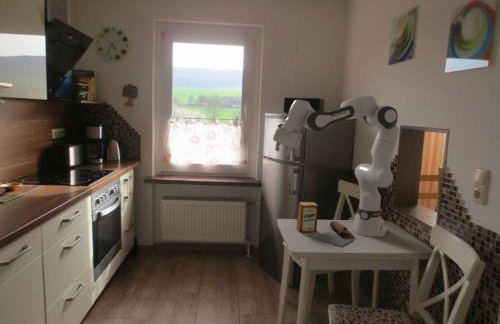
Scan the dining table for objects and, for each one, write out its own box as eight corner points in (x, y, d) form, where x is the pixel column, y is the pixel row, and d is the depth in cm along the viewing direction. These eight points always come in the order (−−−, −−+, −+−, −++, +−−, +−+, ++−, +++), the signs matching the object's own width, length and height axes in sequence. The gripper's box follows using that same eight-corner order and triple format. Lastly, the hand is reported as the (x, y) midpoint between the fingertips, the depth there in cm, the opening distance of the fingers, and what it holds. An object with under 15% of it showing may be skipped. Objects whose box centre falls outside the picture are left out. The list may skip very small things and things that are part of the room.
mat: (327, 232, 188) (327, 231, 188) (353, 240, 178) (353, 239, 178) (314, 237, 178) (314, 236, 178) (341, 247, 168) (341, 245, 168)
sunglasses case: (355, 237, 180) (350, 226, 179) (344, 243, 180) (339, 232, 179) (343, 226, 198) (338, 217, 197) (332, 232, 198) (328, 222, 197)
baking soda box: (299, 232, 185) (302, 204, 183) (296, 228, 192) (298, 201, 189) (316, 232, 187) (318, 205, 184) (312, 228, 193) (314, 201, 191)
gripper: (307, 134, 169) (297, 159, 170) (285, 127, 186) (275, 150, 187) (298, 130, 165) (287, 156, 167) (276, 123, 183) (267, 147, 184)
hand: (281, 153), depth 177 cm, fingers open, 8 cm apart
